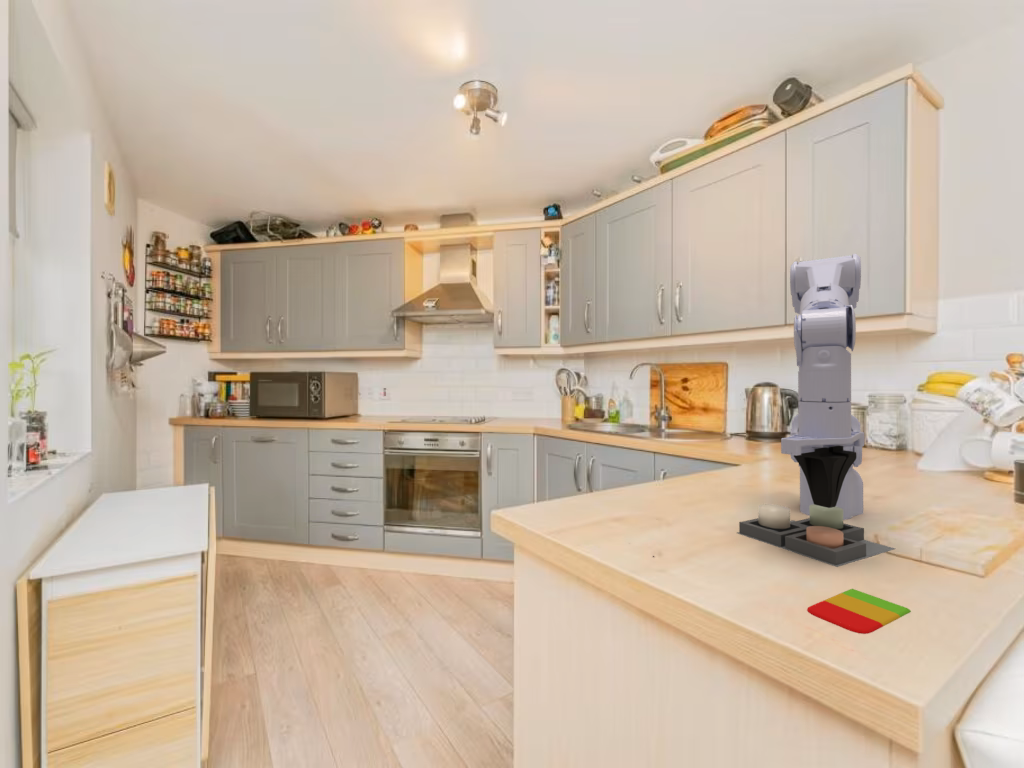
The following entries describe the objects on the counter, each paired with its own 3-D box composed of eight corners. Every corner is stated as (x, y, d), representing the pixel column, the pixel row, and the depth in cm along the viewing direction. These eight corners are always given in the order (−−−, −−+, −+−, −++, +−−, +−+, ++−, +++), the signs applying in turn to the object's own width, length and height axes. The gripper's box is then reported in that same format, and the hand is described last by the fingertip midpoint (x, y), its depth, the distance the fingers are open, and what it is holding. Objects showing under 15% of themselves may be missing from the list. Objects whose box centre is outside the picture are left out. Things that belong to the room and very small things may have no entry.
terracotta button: (818, 541, 63) (818, 524, 63) (850, 551, 60) (850, 532, 60) (799, 546, 62) (799, 528, 62) (831, 557, 58) (831, 537, 58)
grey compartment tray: (792, 527, 74) (792, 510, 74) (895, 557, 62) (895, 536, 62) (736, 540, 69) (736, 521, 69) (837, 576, 56) (837, 553, 56)
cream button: (770, 518, 70) (770, 502, 70) (796, 526, 66) (796, 509, 66) (752, 522, 68) (752, 506, 68) (778, 530, 64) (778, 513, 64)
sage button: (820, 519, 69) (820, 502, 69) (849, 526, 66) (849, 509, 66) (803, 522, 68) (803, 506, 68) (832, 530, 64) (832, 513, 64)
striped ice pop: (800, 626, 46) (800, 607, 46) (877, 592, 53) (877, 575, 53) (864, 656, 41) (864, 634, 41) (939, 613, 48) (939, 595, 48)
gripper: (825, 398, 67) (826, 492, 68) (758, 402, 61) (759, 505, 61) (881, 400, 61) (882, 503, 61) (813, 404, 55) (814, 520, 55)
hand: (824, 505), depth 61 cm, fingers closed
